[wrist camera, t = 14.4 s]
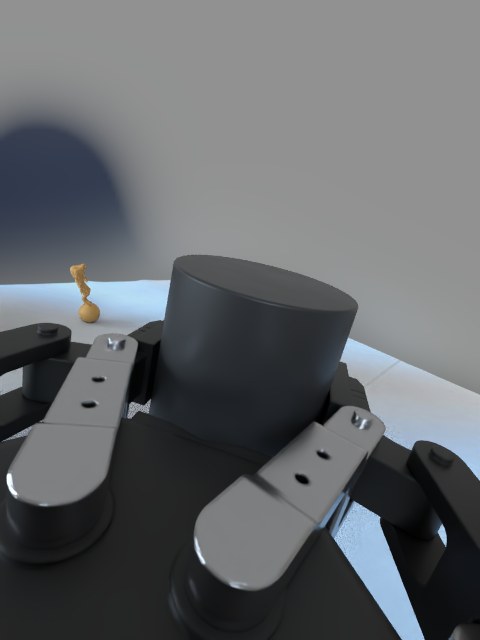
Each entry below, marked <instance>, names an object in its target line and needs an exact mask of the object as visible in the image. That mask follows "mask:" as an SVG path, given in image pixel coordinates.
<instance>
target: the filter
mask: <svg viewBox="0 0 480 640" xmlns="http://www.w3.org/2000/svg"><path fill="white" fill-rule="evenodd" d="M357 310H358V304H357V302H356V301H355V300H354V299H353V298H352V297H351V296H349V295H348V294H346V293H345V292H343V291H341V290H339V289H337V288H335V287H333V286H330V285H328V284H326V283H323V282H321V281H318V280H315V279H313V278H310V277H307V276H304V275H301V274H298V273H295V272H291V271H288V270H284V269H281V268H277V267H273V266H269V265H265V264H260V263H256V262H251V261H246V260H241V259H235V258H228V257H221V256H211V255H187V256H182V257H179V258H177V259H176V260H175V261H174V264H173V271H172V277H171V282H170V288H169V295H168V301H167V307H166V313H165V319H164V325H163V331H162V337H161V343H160V349H159V355H158V361H157V367H156V373H155V379H154V385H153V391H152V397H151V404H150V410H149V415H152V416H155V417H158V418H161V419H164V420H167V421H170V422H172V423H174V424H175V425H177V426H179V427H181V428H182V429H184V430H186V431H188V432H190V433H191V434H193V435H195V436H197V437H198V438H201V439H204V440H209V441H216V442H222V443H228V444H234V445H240V446H243V447H246V448H249V449H252V450H254V451H257V452H260V453H263V454H266V455H269V456H272V457H274V456H275V455H276V454H277V453H279V452H280V451H281V450H282V449H283V448H284V447H285V446H286V445H288V444H289V443H290V442H291V441H292V440H293V439H294V438H296V437H297V436H298V435H299V434H300V433H301V432H302V431H303V430H305V429H306V428H307V427H308V426H309V425H310V424H311V423H313V422H314V421H315V422H317V423H318V422H319V419H320V416H321V413H322V410H323V407H324V405H325V402H326V399H327V396H328V393H329V390H330V387H331V384H332V382H333V379H334V376H335V373H336V370H337V367H338V364H339V361H340V359H341V356H342V353H343V350H344V347H345V344H346V341H347V339H348V335H349V333H350V330H351V327H352V324H353V321H354V318H355V315H356V313H357Z"/></svg>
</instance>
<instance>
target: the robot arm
mask: <svg viewBox="0 0 480 640" xmlns="http://www.w3.org/2000/svg"><path fill="white" fill-rule="evenodd" d="M163 325H164V320H163V321H161V320H159V321H153V322H149V323H148V324H146V325H144V326H143V327H141V328H139V329H138V330H136V331H134V332H132V333H130V334H129V335H122V334H104V335H100V336H98V337H97V338H96V339H95V340H94V342H93V344H92V345H90V344H83V343H76V342H71V330H70V329H69V328H68V327H66V326H63V325H59V324H53V323H39V324H33V325H29V326H24V327H20V328H16V329H12V330H8V331H4V332H0V376H2V375H3V374H5V373H7V372H10V371H13V370H15V369H18V368H21V367H23V383H22V387H20V388H18V389H15V390H13V391H10V392H8V393H6V394H3V395H1V396H0V640H402V639H401V638H400V636H399V635H398V633H397V632H396V630H395V629H394V627H393V626H392V624H391V623H390V622H389V620H388V619H387V617H386V616H385V614H384V613H383V611H382V610H381V608H380V607H379V605H378V604H377V602H376V601H375V599H374V598H373V596H372V595H371V593H370V592H369V590H368V589H367V587H366V586H365V584H364V583H363V581H362V580H361V578H360V577H359V575H358V574H357V573H356V571H355V570H354V568H353V567H352V565H351V564H350V562H349V561H348V559H347V558H346V556H345V555H344V553H343V552H342V550H341V549H340V547H339V546H338V544H337V543H336V541H335V540H334V538H335V536H336V535H337V533H338V531H339V529H340V528H341V526H342V524H343V522H344V520H345V519H346V517H347V515H348V513H349V512H350V510H351V508H352V506H353V505H354V503H355V502H357V503H359V504H360V505H362V506H363V507H365V508H367V509H368V510H370V511H372V512H373V513H375V514H377V515H378V516H380V517H381V518H380V525H381V528H382V530H383V533H384V536H385V538H386V541H387V543H388V546H389V548H390V551H391V554H392V556H393V559H394V561H395V564H396V566H397V569H398V572H399V574H400V577H401V579H402V582H403V584H404V587H405V590H406V592H407V595H408V597H409V600H410V603H411V605H412V608H413V610H414V613H415V615H416V618H417V621H418V623H419V626H420V628H421V631H422V633H423V636H424V639H425V640H480V481H479V479H478V478H477V477H476V476H475V475H474V473H473V472H472V471H471V470H470V468H469V467H468V466H467V465H466V464H465V462H464V461H463V460H462V459H461V458H460V457H458V456H457V455H456V454H455V453H453V452H452V451H450V450H448V449H447V448H445V447H443V446H441V445H438V444H436V443H433V442H429V441H417V442H415V444H414V446H413V448H412V450H409V449H407V448H405V447H403V446H401V445H399V444H397V443H395V442H393V441H392V440H390V439H388V438H387V437H386V436H384V435H383V434H384V432H385V425H384V423H383V422H382V421H381V420H380V419H379V418H378V417H377V416H375V415H374V414H372V413H371V412H370V408H369V405H368V401H367V397H366V395H365V394H366V393H365V390H364V386H363V385H362V384H361V383H360V382H359V381H358V380H357V379H355V378H351V377H349V376H348V370H347V365H346V363H343V362H339V364H338V367H337V370H336V373H335V376H334V379H333V382H332V384H331V387H330V390H329V393H328V396H327V399H326V402H325V405H324V407H323V410H322V413H321V416H320V419H319V422H318V423H317V422H315V421H314V422H313V423H311V424H310V425H309V426H308V427H307V428H306V429H305V430H303V431H302V432H301V433H300V434H299V435H298V436H297V437H296V438H294V439H293V440H292V441H291V442H290V443H289V444H288V445H286V446H285V447H284V448H283V449H282V450H281V451H280V452H279V453H277V454H276V455H275V456H274V457H272V456H269V455H266V454H263V453H260V452H257V451H254V450H252V449H249V448H246V447H243V446H240V445H234V444H228V443H222V442H216V441H209V440H204V439H201V438H198V437H197V436H195V435H193V434H191V433H190V432H188V431H186V430H184V429H182V428H181V427H179V426H177V425H175V424H174V423H172V422H170V421H167V420H164V419H161V418H158V417H155V416H152V415H149V414H146V413H144V412H141V411H138V412H137V413H136V414H135V415H134V416H133V417H132V418H131V419H128V418H127V417H128V411H129V404H130V403H131V402H135V403H138V404H141V405H145V404H146V403H147V402H148V401H149V400H150V399H151V397H152V391H153V385H154V379H155V373H156V367H157V361H158V355H159V349H160V343H161V337H162V331H163ZM43 419H44V420H43ZM41 420H43V421H42V422H39V421H41ZM34 424H35V425H34ZM32 425H34V426H33V427H32V429H31V431H30V432H29V434H28V436H24V437H19V438H15V439H11V440H7V441H3V440H5V439H7V438H9V437H11V436H13V435H15V434H17V433H19V432H20V431H22V430H24V429H26V428H28V427H30V426H32ZM1 441H3V442H1ZM442 524H443V526H444V528H445V531H446V535H447V545H446V547H445V545H444V543H443V541H442V540H441V538H440V536H439V534H438V530H439V528H440V526H441V525H442Z"/></svg>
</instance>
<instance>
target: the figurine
mask: <svg viewBox="0 0 480 640" xmlns="http://www.w3.org/2000/svg"><path fill="white" fill-rule="evenodd" d="M85 266H86V265H85V264H81V265H74V266H72V267H71V268H70V271H71V274H72V276H73V277H74V279H75V281H76V283H77V285H78V287H79V288H80V292H81V294H83V296H82V300H83V301H84V303H85V304H83V305H82V306H81V307H80V309H79V316H80V318H81V319H82V320H83V321H85V322H94V321H96V320H97V319H98V318H99V315H100V310H99V308H98V307H97V306H96V305H95V304H93V303H92V302H91V301H88V300H87V299H86V297H87V296H88V295H89V294H90V288H89V287H88V286H87V285H86V284H85V282H88V281H87V279H86V278H85V276H84V275H85V273H84V270H85V269H86V267H85ZM84 280H85V282H84Z"/></svg>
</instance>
